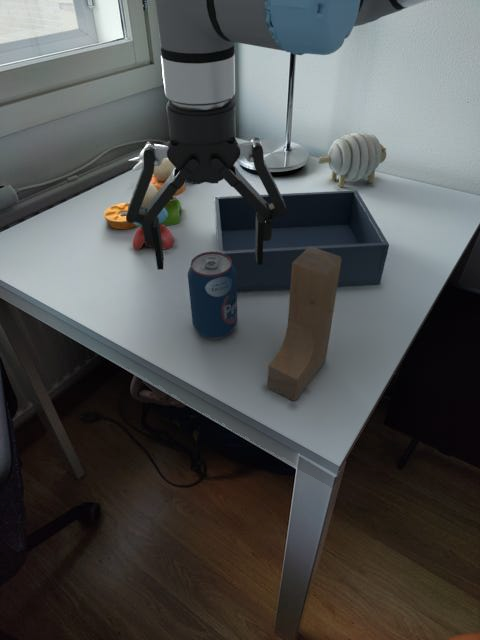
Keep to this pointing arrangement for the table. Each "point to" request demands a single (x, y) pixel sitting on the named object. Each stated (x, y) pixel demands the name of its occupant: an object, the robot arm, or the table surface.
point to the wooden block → (306, 322)
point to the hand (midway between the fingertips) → (210, 261)
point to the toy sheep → (354, 157)
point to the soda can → (213, 294)
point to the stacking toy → (166, 216)
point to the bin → (301, 238)
